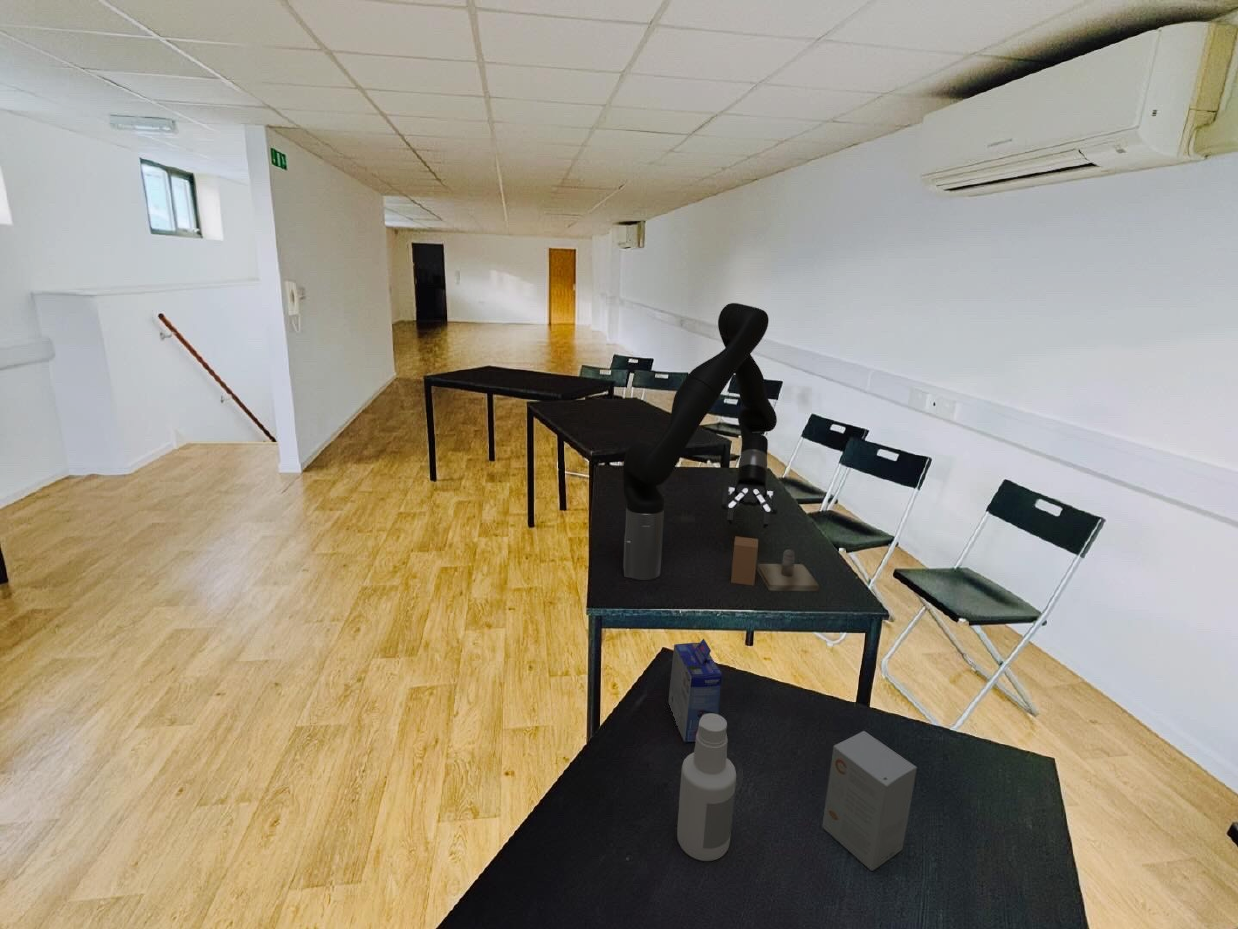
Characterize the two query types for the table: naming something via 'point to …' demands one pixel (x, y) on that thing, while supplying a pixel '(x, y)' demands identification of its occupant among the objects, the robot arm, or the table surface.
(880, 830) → the small box
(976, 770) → the table surface
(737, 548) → the tall brown carton
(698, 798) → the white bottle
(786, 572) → the post stand
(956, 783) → the table surface
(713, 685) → the ink cartridge box
